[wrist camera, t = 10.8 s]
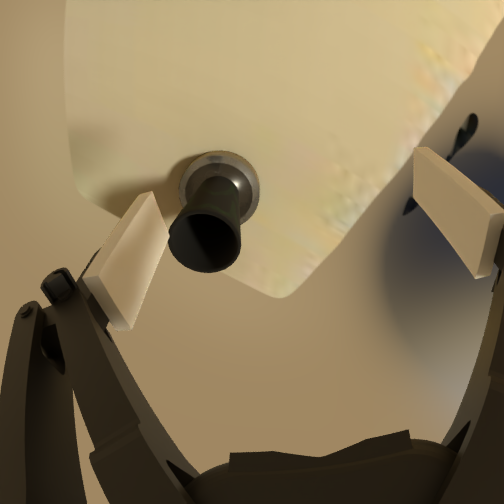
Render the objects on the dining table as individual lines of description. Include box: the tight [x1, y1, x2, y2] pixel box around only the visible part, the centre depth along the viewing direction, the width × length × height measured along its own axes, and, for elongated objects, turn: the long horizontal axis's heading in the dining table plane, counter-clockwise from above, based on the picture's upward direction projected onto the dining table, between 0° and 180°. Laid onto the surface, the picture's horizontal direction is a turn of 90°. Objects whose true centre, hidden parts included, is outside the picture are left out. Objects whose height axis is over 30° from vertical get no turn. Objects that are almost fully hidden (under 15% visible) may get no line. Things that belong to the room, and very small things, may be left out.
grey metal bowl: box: [179, 151, 260, 225], centre depth 43 cm, size 11×11×3 cm
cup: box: [168, 176, 241, 273], centre depth 37 cm, size 8×8×12 cm
